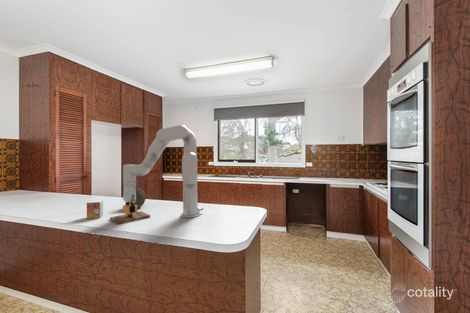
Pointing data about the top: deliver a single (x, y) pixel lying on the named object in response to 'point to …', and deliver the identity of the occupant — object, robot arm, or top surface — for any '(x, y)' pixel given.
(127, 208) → the orange square ring
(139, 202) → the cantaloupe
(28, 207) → the top surface
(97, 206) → the small box
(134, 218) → the board
